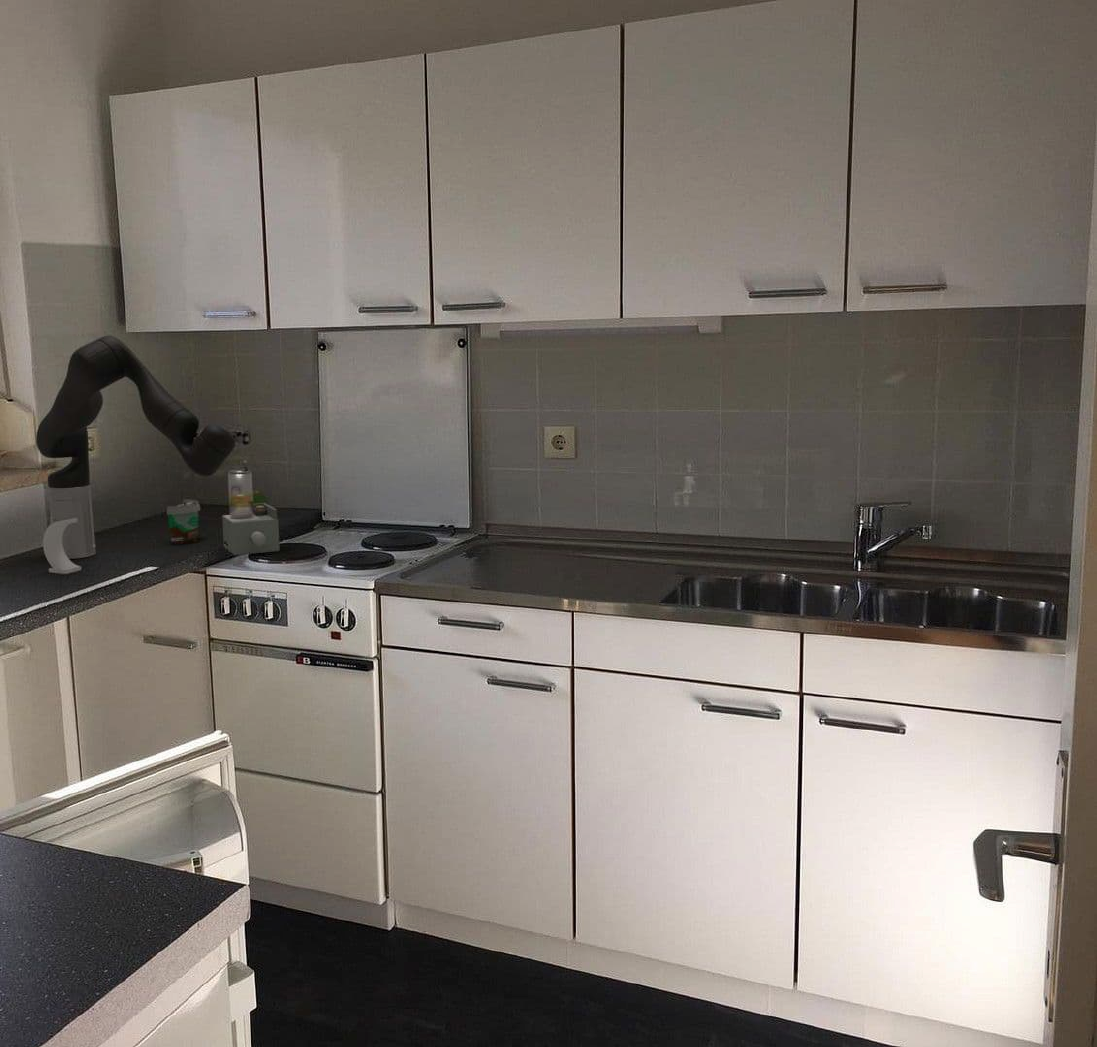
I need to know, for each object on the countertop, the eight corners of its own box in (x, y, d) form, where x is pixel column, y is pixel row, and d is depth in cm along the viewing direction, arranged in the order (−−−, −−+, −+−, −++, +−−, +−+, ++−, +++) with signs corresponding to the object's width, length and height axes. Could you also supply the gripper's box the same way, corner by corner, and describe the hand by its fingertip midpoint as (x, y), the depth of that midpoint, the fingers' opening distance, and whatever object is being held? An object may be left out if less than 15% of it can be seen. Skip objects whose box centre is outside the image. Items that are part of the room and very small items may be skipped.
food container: (193, 545, 271) (190, 506, 269) (169, 545, 271) (166, 506, 269) (209, 536, 283) (206, 499, 281) (186, 536, 283) (183, 499, 281)
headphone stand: (65, 574, 238) (60, 521, 236) (45, 571, 241) (40, 519, 239) (81, 569, 243) (77, 518, 240) (61, 567, 245) (57, 516, 243)
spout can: (232, 519, 259) (229, 462, 257) (227, 516, 264) (225, 460, 262) (256, 518, 262) (253, 461, 260) (250, 514, 267) (248, 459, 265)
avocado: (239, 537, 281) (237, 492, 279) (248, 531, 289) (246, 488, 287) (269, 537, 281) (267, 492, 279) (277, 531, 289) (275, 488, 287)
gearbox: (237, 557, 255) (235, 515, 254) (223, 546, 268) (221, 506, 266) (282, 553, 261) (280, 511, 259) (267, 542, 274) (265, 502, 272)
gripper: (248, 424, 230) (250, 418, 246) (179, 425, 227) (185, 419, 242) (249, 458, 232) (251, 450, 247) (181, 460, 228) (187, 452, 244)
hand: (219, 435), depth 245 cm, fingers open, 8 cm apart
